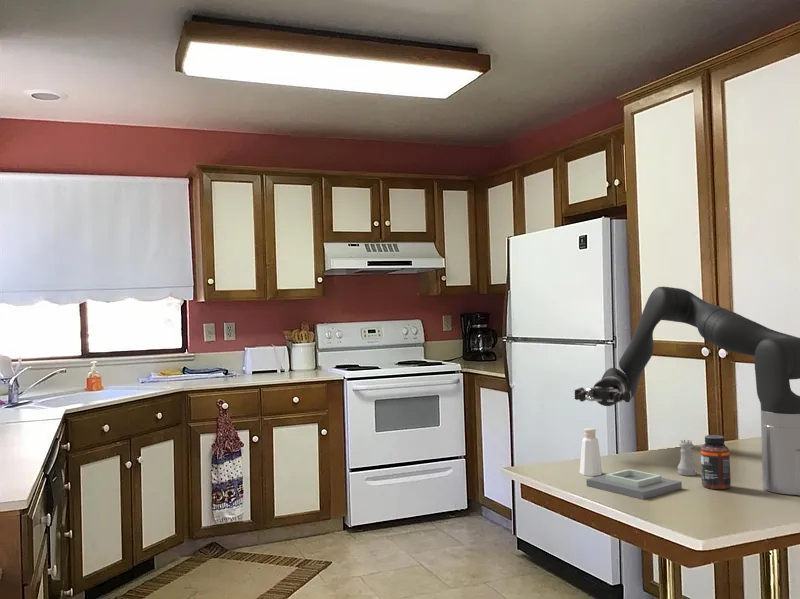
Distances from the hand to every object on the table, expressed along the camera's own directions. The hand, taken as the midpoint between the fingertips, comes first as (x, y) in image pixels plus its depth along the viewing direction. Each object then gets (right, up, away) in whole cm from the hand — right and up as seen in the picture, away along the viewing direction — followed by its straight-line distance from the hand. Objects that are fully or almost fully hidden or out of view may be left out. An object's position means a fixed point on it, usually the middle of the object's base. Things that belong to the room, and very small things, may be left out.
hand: (597, 398), depth 184 cm
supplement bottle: (+19, -17, -25) cm, 36 cm away
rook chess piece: (+18, -17, -13) cm, 28 cm away
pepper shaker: (-5, -17, -10) cm, 21 cm away
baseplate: (+1, -17, -24) cm, 29 cm away
